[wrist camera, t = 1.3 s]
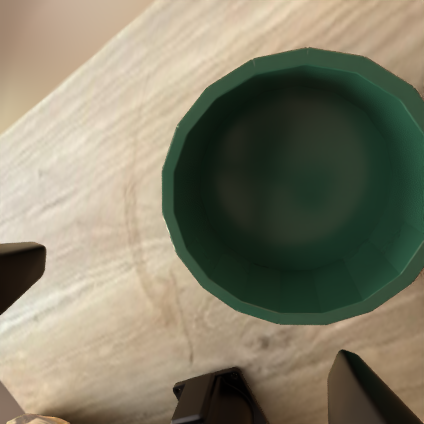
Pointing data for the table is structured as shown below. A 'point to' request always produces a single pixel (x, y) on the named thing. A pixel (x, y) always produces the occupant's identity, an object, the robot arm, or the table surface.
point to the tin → (300, 187)
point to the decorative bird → (36, 420)
